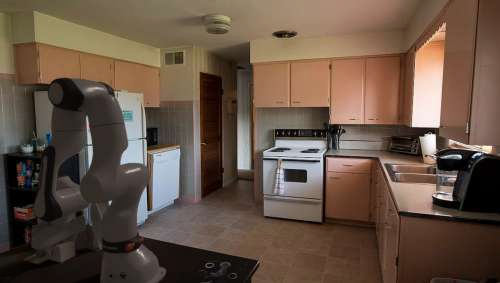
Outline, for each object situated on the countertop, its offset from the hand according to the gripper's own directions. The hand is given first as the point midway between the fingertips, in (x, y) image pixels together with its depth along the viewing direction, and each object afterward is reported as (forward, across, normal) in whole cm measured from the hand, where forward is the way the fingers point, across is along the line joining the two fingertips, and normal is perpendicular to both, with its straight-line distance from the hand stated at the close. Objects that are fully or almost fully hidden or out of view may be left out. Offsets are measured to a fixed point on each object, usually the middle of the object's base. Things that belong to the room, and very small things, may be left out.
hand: (61, 250), depth 116 cm
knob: (+3, 0, 0) cm, 3 cm away
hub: (+3, -3, +8) cm, 9 cm away
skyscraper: (+3, +13, -6) cm, 15 cm away
